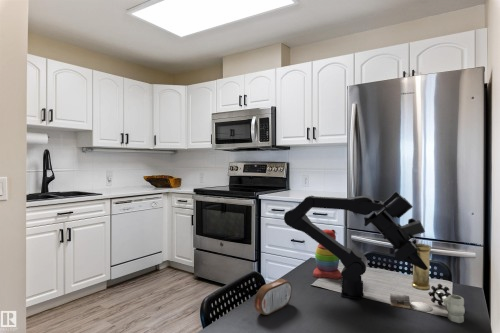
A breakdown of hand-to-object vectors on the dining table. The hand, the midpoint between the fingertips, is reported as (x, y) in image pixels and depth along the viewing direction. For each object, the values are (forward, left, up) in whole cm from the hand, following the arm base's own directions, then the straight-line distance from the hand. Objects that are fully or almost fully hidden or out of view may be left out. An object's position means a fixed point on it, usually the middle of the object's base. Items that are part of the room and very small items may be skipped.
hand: (426, 266), depth 97 cm
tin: (-43, -17, -13) cm, 49 cm away
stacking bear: (-32, +19, -13) cm, 39 cm away
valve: (+6, -2, -13) cm, 14 cm away
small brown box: (-7, 0, -13) cm, 15 cm away
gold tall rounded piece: (-1, 0, -7) cm, 7 cm away
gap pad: (-1, 0, -13) cm, 13 cm away
